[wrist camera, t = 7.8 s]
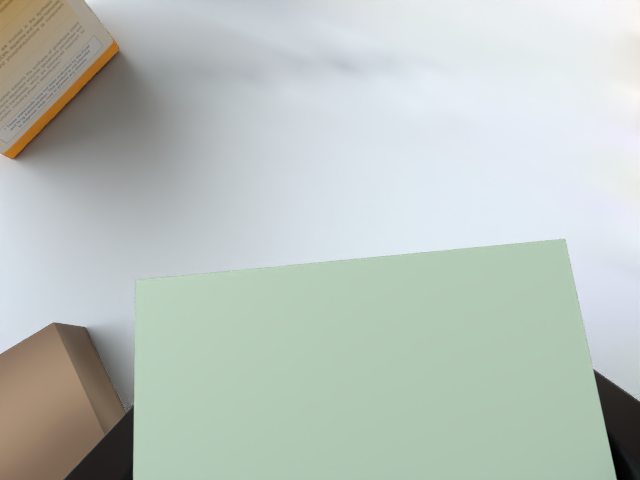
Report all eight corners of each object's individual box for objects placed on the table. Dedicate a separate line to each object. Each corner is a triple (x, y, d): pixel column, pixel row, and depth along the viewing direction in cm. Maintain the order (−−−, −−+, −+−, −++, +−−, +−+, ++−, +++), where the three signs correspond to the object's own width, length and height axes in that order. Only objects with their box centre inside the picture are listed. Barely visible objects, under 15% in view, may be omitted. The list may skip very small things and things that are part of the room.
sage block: (480, 527, 14) (681, 782, 5) (267, 542, 14) (129, 808, 6) (449, 311, 16) (565, 238, 7) (256, 329, 16) (135, 280, 7)
